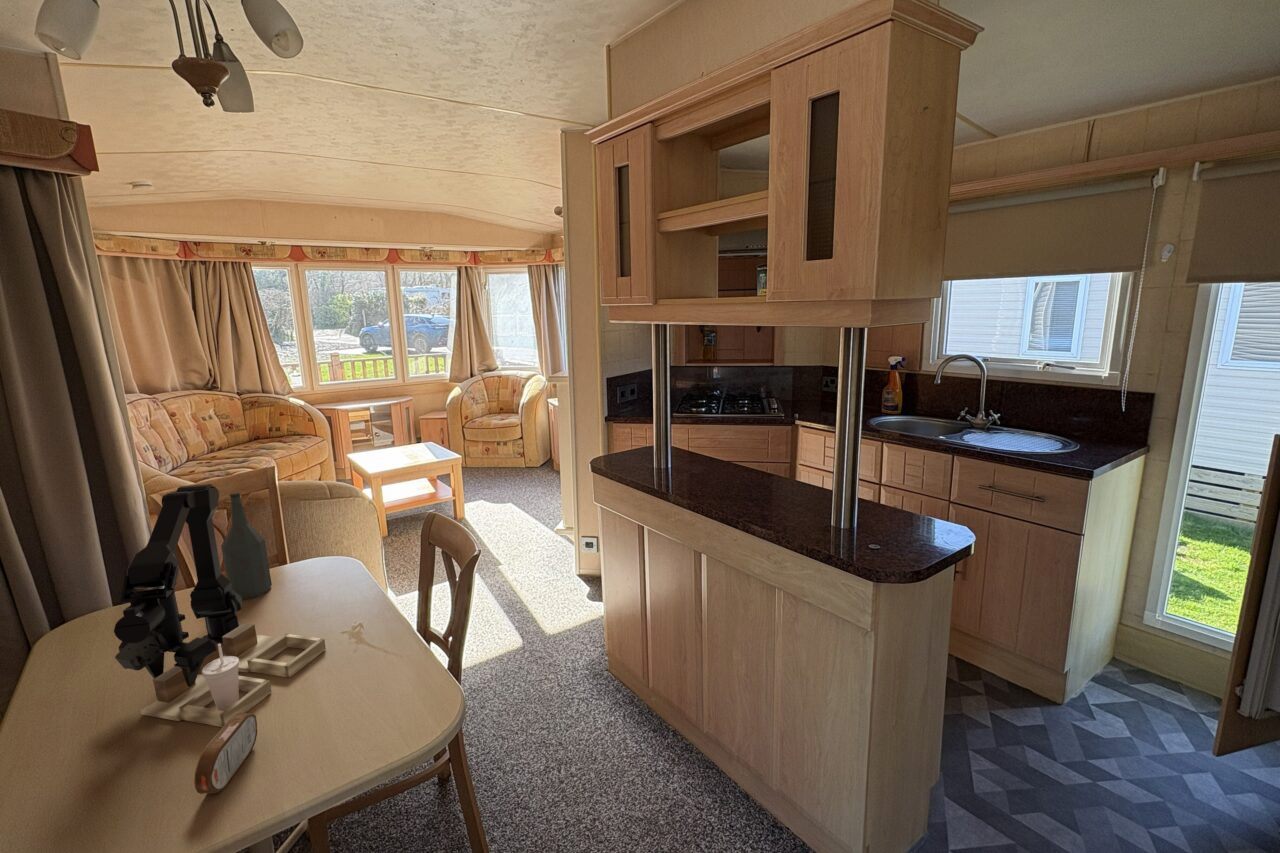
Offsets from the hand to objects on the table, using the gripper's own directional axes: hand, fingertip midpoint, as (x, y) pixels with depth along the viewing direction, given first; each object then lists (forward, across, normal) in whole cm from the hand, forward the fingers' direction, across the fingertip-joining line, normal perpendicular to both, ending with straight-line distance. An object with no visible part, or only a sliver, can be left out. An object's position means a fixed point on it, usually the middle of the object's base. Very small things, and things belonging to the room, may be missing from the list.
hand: (175, 682), depth 126 cm
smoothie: (+4, +13, 0) cm, 14 cm away
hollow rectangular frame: (+4, +8, +16) cm, 18 cm away
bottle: (+4, -24, +42) cm, 48 cm away
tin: (+4, +29, -14) cm, 32 cm away
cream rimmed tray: (+4, +8, 0) cm, 9 cm away
